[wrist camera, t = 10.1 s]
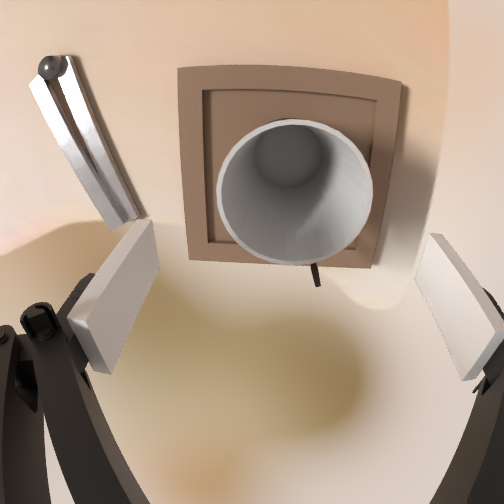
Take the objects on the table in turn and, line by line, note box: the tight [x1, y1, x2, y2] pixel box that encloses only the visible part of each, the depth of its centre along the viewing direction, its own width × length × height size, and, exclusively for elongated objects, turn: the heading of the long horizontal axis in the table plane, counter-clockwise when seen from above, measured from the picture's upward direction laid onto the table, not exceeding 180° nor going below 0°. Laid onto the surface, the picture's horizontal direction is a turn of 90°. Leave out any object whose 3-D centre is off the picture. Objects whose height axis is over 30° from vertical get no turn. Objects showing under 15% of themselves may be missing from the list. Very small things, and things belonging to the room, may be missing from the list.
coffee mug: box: [216, 118, 373, 287], centre depth 22 cm, size 12×9×10 cm
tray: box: [177, 65, 401, 269], centre depth 26 cm, size 18×18×1 cm
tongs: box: [30, 56, 140, 231], centre depth 25 cm, size 19×5×2 cm, turn 19°
